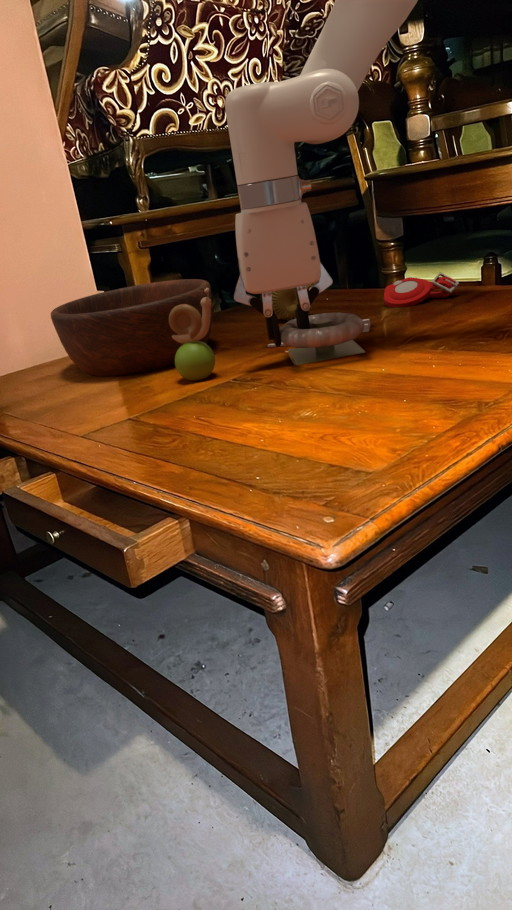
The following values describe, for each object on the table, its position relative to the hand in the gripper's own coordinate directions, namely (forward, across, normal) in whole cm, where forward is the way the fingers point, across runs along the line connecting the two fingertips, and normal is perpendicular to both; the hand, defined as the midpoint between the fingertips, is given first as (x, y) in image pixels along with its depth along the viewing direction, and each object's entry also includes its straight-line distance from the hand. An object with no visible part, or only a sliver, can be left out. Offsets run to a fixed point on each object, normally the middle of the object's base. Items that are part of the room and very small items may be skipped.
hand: (290, 340), depth 92 cm
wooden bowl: (+4, +22, -20) cm, 30 cm away
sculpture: (+4, -4, -29) cm, 30 cm away
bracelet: (-1, -4, 0) cm, 4 cm away
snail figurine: (+4, +12, -1) cm, 13 cm away
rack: (+3, -4, 0) cm, 6 cm away
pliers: (+4, -6, -14) cm, 16 cm away
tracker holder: (+3, -26, -26) cm, 37 cm away
